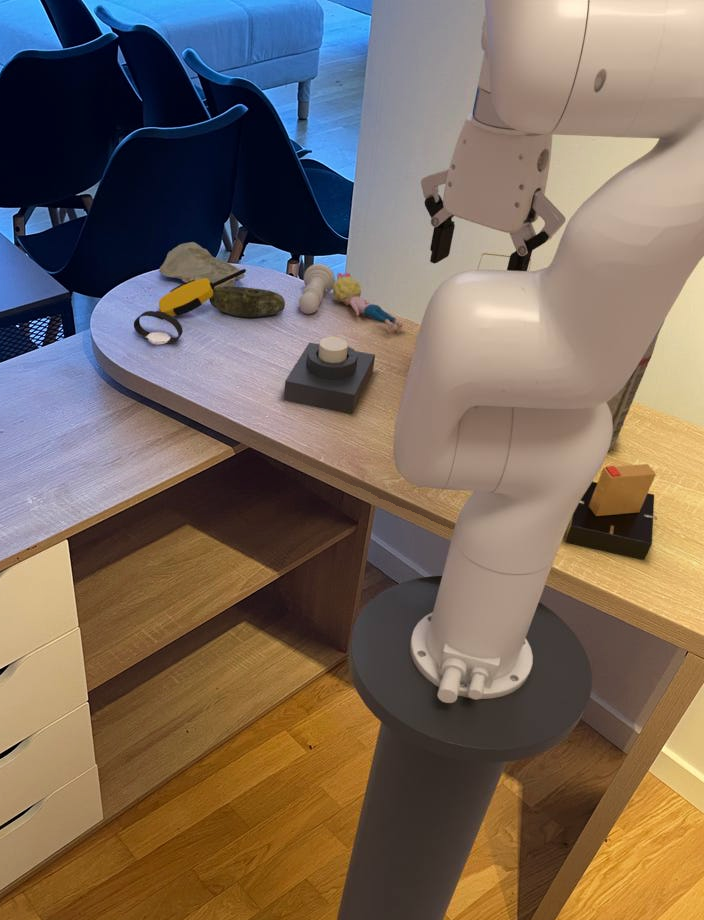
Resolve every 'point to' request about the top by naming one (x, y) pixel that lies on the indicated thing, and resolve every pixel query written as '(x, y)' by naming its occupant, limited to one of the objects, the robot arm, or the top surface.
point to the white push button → (333, 349)
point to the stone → (197, 265)
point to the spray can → (628, 393)
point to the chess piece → (315, 287)
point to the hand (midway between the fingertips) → (474, 272)
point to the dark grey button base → (329, 380)
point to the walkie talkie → (190, 295)
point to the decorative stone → (247, 301)
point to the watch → (158, 336)
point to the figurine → (360, 301)
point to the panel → (612, 528)
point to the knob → (621, 489)
